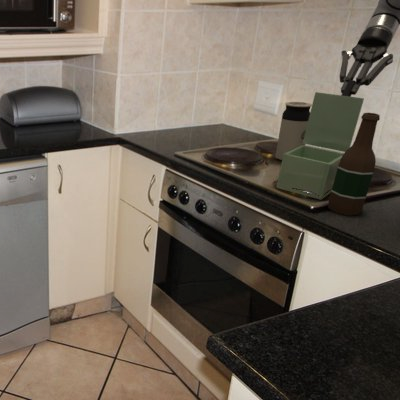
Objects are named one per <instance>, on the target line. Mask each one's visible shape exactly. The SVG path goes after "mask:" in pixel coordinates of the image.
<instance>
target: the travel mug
mask: <svg viewBox="0 0 400 400" xmlns="http://www.w3.org/2000/svg"><path fill="white" fill-rule="evenodd" d="M284 104H285V109H284V111H283V112H282V116H281V121H280V126H279V133H278V139H277V145H276V151H275V158H276V159H277V160H279V161H282V159H283V155H284V153H287V152H289V151H291V150H293V149H295V148H297V147H299V146H301V145H306V144H303V140H304V136H305V132H306V128H307V124H308V120H309V116H310V112H311V108H312V104H313V103H310V102H304V101H287V102H286V101H285V103H284Z"/></svg>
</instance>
